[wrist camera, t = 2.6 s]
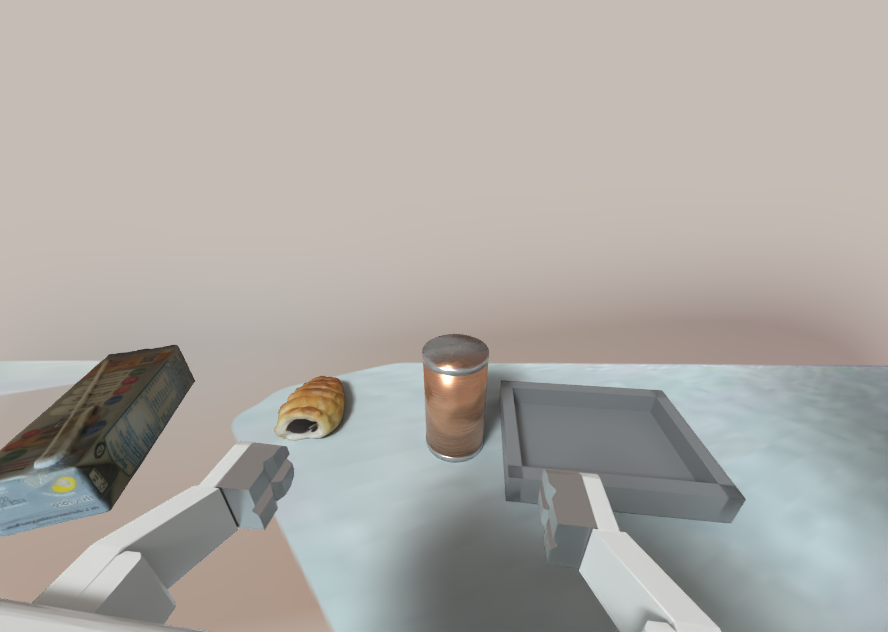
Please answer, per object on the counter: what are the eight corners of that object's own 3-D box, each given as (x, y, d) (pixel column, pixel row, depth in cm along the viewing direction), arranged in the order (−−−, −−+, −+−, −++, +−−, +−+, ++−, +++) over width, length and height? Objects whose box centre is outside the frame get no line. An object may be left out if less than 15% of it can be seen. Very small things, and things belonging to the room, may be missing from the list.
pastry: (304, 388, 42) (298, 363, 41) (355, 386, 43) (352, 362, 41) (273, 444, 34) (264, 417, 32) (337, 442, 34) (332, 415, 32)
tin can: (483, 419, 37) (488, 335, 32) (483, 464, 31) (489, 372, 26) (430, 415, 37) (427, 332, 32) (421, 459, 32) (416, 367, 27)
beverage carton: (-11, 544, 25) (-70, 488, 22) (129, 392, 42) (105, 349, 39) (112, 515, 27) (71, 461, 24) (199, 381, 44) (181, 339, 41)
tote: (654, 410, 38) (662, 390, 36) (730, 523, 26) (745, 499, 25) (499, 400, 39) (501, 380, 38) (505, 500, 28) (508, 477, 27)
